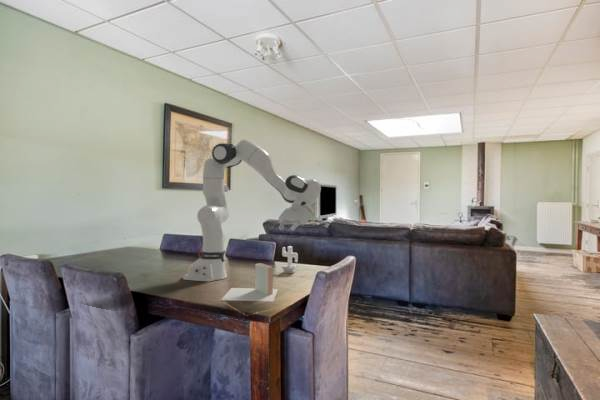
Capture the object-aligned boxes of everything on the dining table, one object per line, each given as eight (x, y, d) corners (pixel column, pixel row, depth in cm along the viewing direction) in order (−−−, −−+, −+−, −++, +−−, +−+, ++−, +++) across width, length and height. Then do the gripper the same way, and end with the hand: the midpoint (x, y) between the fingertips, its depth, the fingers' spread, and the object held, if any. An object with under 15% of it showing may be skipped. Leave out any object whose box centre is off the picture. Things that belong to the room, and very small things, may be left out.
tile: (260, 288, 155) (260, 263, 154) (272, 293, 147) (272, 267, 147) (255, 289, 153) (255, 263, 153) (266, 295, 145) (267, 267, 145)
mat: (220, 301, 137) (220, 300, 137) (231, 289, 155) (231, 287, 155) (273, 302, 137) (273, 301, 137) (277, 290, 155) (278, 288, 155)
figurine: (295, 274, 185) (295, 247, 185) (279, 272, 189) (280, 246, 188) (299, 271, 192) (300, 246, 192) (284, 270, 195) (285, 245, 195)
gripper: (284, 203, 171) (270, 224, 165) (309, 202, 154) (294, 225, 149) (292, 211, 173) (278, 232, 168) (317, 211, 157) (302, 234, 151)
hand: (285, 229), depth 158 cm, fingers open, 8 cm apart
